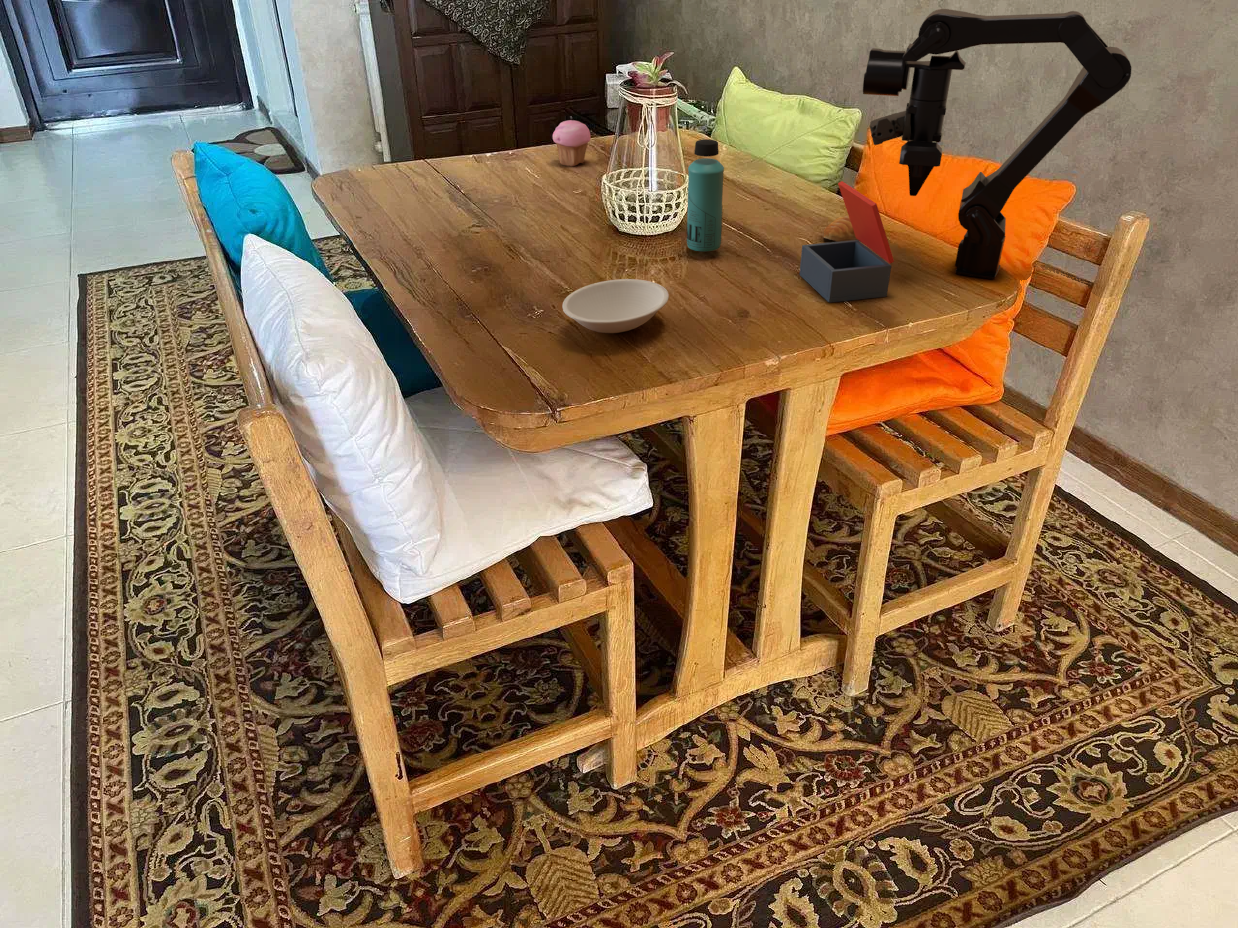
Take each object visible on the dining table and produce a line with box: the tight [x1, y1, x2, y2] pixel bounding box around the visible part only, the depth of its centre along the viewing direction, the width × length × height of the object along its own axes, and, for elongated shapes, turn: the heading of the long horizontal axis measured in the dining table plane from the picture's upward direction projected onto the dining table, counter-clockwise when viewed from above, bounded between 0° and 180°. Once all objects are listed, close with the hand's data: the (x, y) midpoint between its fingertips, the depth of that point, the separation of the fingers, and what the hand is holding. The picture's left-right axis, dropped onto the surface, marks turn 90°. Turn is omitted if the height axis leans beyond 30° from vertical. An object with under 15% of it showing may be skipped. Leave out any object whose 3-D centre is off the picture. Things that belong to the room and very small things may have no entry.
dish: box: [562, 278, 670, 334], centre depth 139 cm, size 18×14×5 cm
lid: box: [837, 180, 895, 264], centre depth 148 cm, size 11×13×1 cm
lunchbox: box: [798, 240, 892, 303], centre depth 152 cm, size 10×13×5 cm
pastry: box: [823, 214, 859, 242], centre depth 172 cm, size 9×7×4 cm
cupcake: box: [552, 119, 592, 167], centre depth 217 cm, size 9×9×10 cm
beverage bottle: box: [685, 138, 725, 252], centre depth 161 cm, size 6×7×20 cm
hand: (912, 195), depth 155 cm, fingers closed
